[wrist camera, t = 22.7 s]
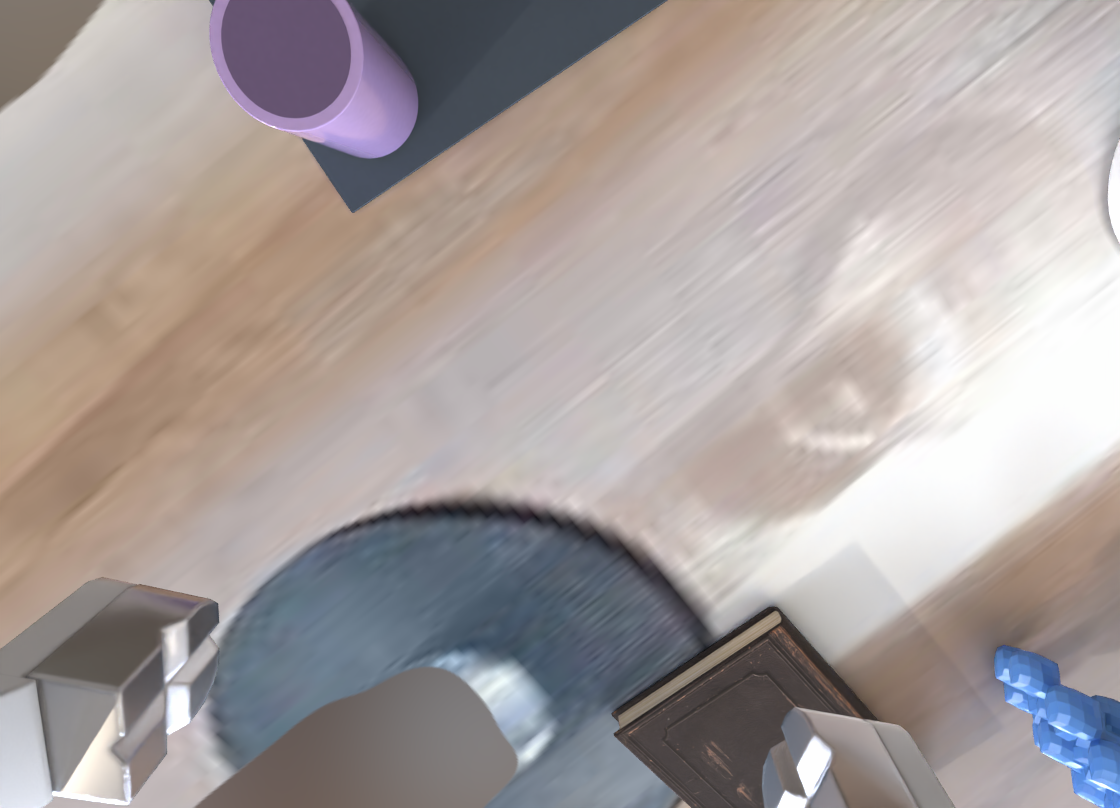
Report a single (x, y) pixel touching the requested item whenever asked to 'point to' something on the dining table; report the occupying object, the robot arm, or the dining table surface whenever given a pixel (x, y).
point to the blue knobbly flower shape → (1066, 723)
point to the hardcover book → (731, 711)
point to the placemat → (470, 70)
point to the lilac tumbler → (315, 73)
